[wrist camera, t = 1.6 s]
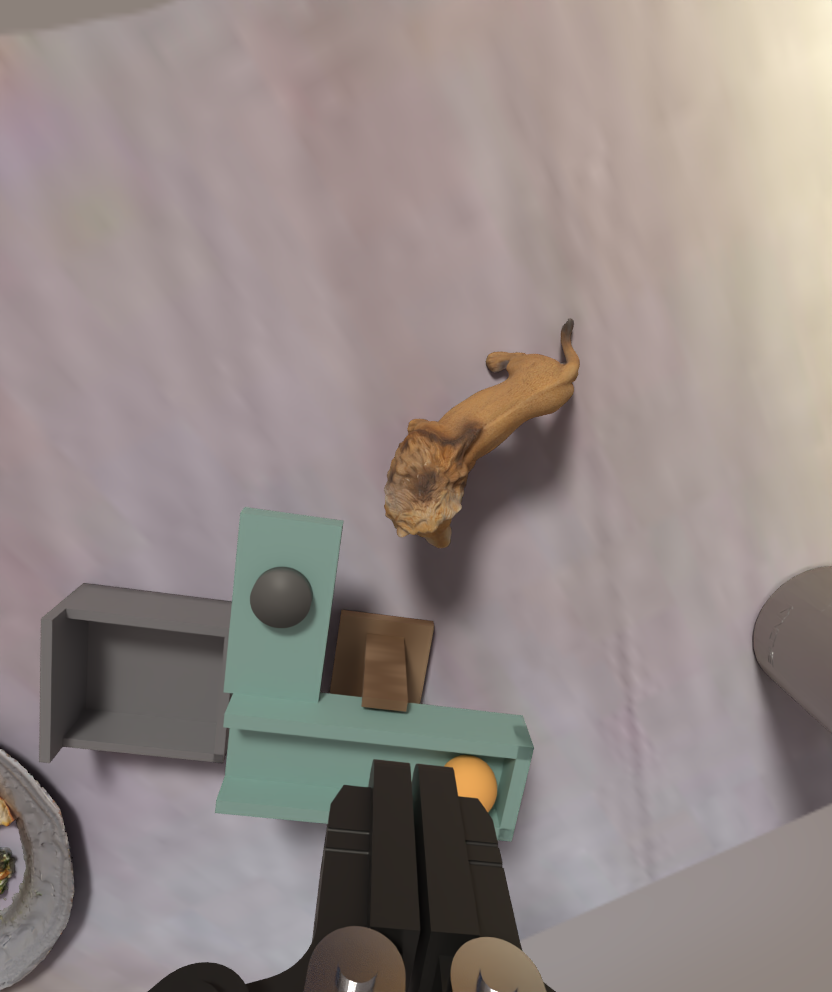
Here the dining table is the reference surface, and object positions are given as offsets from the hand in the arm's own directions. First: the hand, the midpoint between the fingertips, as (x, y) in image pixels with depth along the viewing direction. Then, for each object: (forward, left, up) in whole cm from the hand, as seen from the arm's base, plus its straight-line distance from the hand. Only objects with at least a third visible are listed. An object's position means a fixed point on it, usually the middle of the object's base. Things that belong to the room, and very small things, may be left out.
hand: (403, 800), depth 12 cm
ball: (-6, +14, -18) cm, 23 cm away
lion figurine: (-5, -4, -27) cm, 28 cm away
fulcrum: (-1, +14, -27) cm, 30 cm away
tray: (+13, +14, -27) cm, 33 cm away
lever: (-1, +9, -20) cm, 22 cm away
